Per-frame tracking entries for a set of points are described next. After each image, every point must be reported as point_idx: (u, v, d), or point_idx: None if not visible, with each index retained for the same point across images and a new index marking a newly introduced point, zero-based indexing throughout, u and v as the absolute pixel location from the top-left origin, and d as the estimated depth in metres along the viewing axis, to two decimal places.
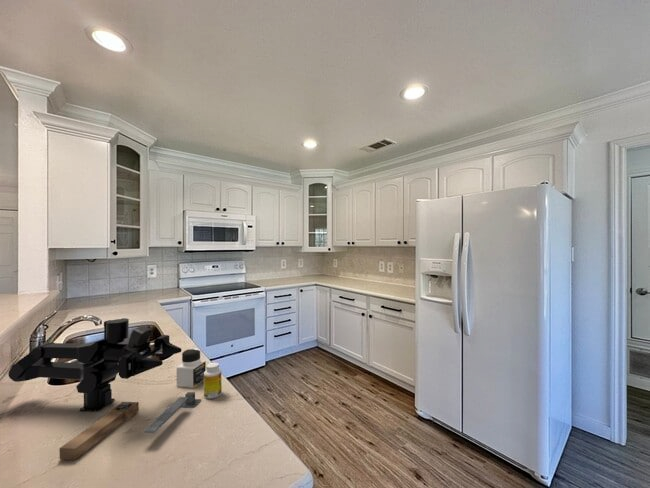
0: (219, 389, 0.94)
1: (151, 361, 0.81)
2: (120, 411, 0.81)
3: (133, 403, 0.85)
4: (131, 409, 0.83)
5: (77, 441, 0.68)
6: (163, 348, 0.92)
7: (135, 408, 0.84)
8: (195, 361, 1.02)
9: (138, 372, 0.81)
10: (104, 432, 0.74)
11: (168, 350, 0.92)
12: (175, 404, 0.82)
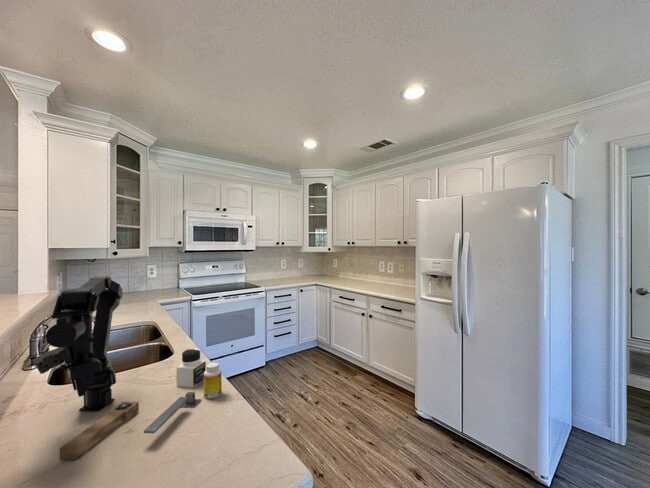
0: (219, 389, 0.94)
1: None
2: (120, 411, 0.81)
3: (133, 403, 0.85)
4: (131, 409, 0.83)
5: (77, 441, 0.68)
6: None
7: (135, 408, 0.84)
8: (195, 361, 1.02)
9: None
10: (104, 432, 0.74)
11: None
12: (175, 404, 0.82)
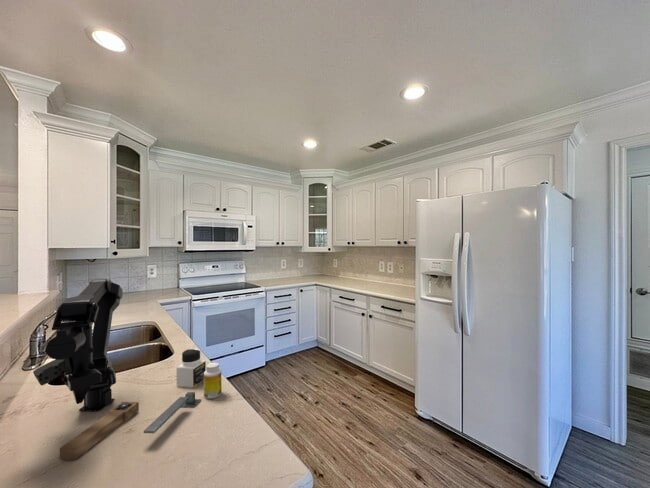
0: (219, 389, 0.94)
1: None
2: (120, 411, 0.81)
3: (133, 403, 0.85)
4: (131, 409, 0.83)
5: (77, 441, 0.68)
6: None
7: (135, 408, 0.84)
8: (195, 361, 1.02)
9: None
10: (104, 432, 0.74)
11: None
12: (175, 404, 0.82)
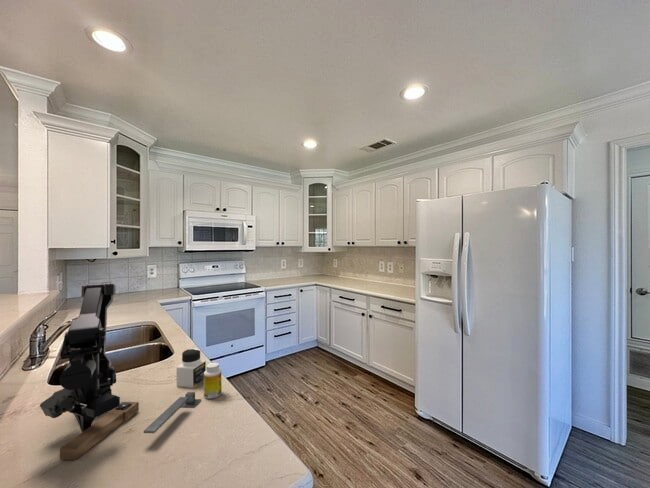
0: (219, 389, 0.94)
1: None
2: (120, 411, 0.81)
3: (133, 403, 0.85)
4: (131, 409, 0.83)
5: (77, 441, 0.68)
6: None
7: (135, 408, 0.84)
8: (195, 361, 1.02)
9: None
10: (104, 432, 0.74)
11: None
12: (175, 404, 0.82)
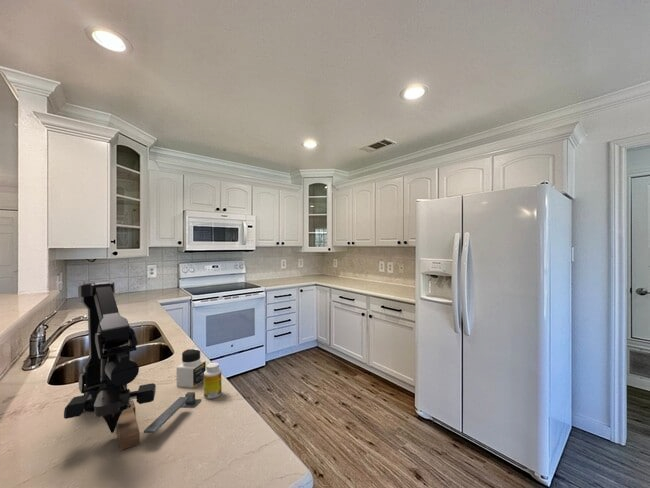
0: (219, 389, 0.94)
1: None
2: (128, 409, 0.82)
3: None
4: None
5: (130, 431, 0.72)
6: None
7: None
8: (195, 361, 1.02)
9: None
10: None
11: None
12: (175, 404, 0.82)
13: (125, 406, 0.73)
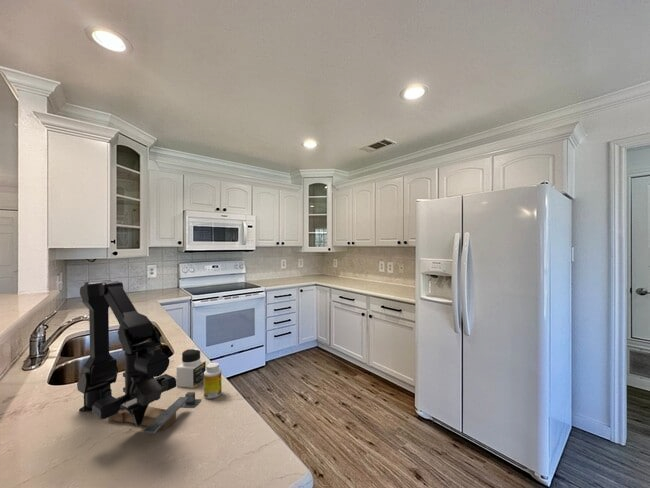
0: (219, 389, 0.94)
1: (135, 418, 0.75)
2: None
3: None
4: None
5: None
6: None
7: None
8: (195, 361, 1.02)
9: None
10: None
11: (138, 407, 0.77)
12: (175, 404, 0.82)
13: None
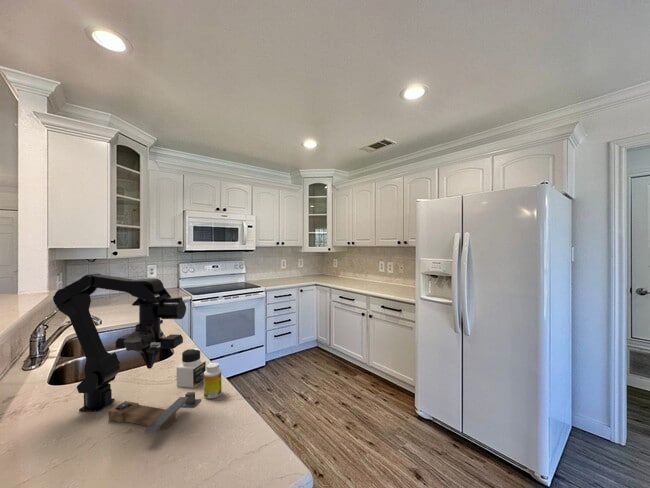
0: (219, 389, 0.94)
1: None
2: (132, 406, 0.83)
3: None
4: None
5: None
6: None
7: None
8: (195, 361, 1.02)
9: None
10: None
11: None
12: (175, 404, 0.82)
13: (155, 348, 0.87)
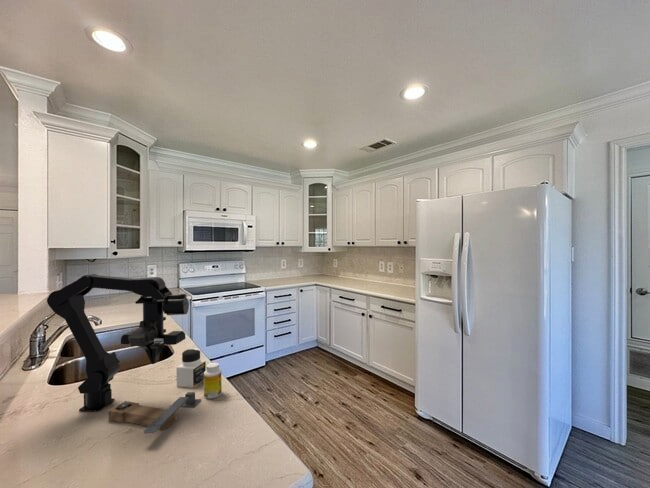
0: (219, 389, 0.94)
1: None
2: (132, 406, 0.83)
3: None
4: None
5: None
6: None
7: None
8: (195, 361, 1.02)
9: None
10: None
11: None
12: (175, 404, 0.82)
13: (158, 344, 0.90)
